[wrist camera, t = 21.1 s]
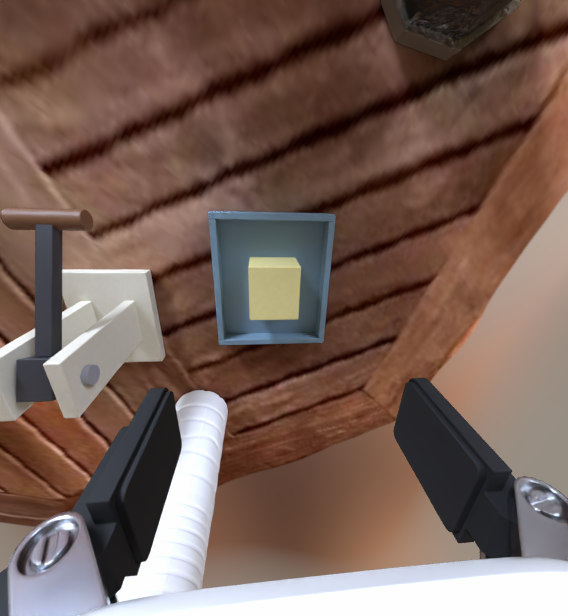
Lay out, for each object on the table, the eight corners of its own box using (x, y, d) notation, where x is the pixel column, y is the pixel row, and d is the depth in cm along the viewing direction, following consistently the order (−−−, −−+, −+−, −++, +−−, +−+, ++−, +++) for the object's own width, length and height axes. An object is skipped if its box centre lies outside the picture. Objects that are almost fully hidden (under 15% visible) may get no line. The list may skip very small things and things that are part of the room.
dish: (211, 210, 24) (207, 211, 22) (330, 213, 25) (336, 214, 23) (221, 335, 29) (218, 345, 27) (319, 333, 30) (323, 342, 28)
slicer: (63, 269, 25) (-85, 324, 14) (150, 269, 26) (72, 322, 15) (91, 357, 29) (-9, 453, 18) (165, 355, 30) (112, 446, 19)
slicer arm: (26, 215, 19) (-7, 201, 17) (97, 216, 20) (75, 203, 17) (25, 392, 19) (-9, 403, 17) (97, 389, 20) (74, 400, 17)
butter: (249, 256, 26) (248, 266, 22) (295, 257, 26) (301, 267, 22) (250, 304, 27) (249, 320, 24) (293, 303, 28) (298, 319, 24)
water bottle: (164, 408, 33) (-60, 909, 10) (201, 379, 31) (47, 873, 8) (214, 443, 36) (134, 887, 13) (250, 419, 35) (233, 857, 12)
